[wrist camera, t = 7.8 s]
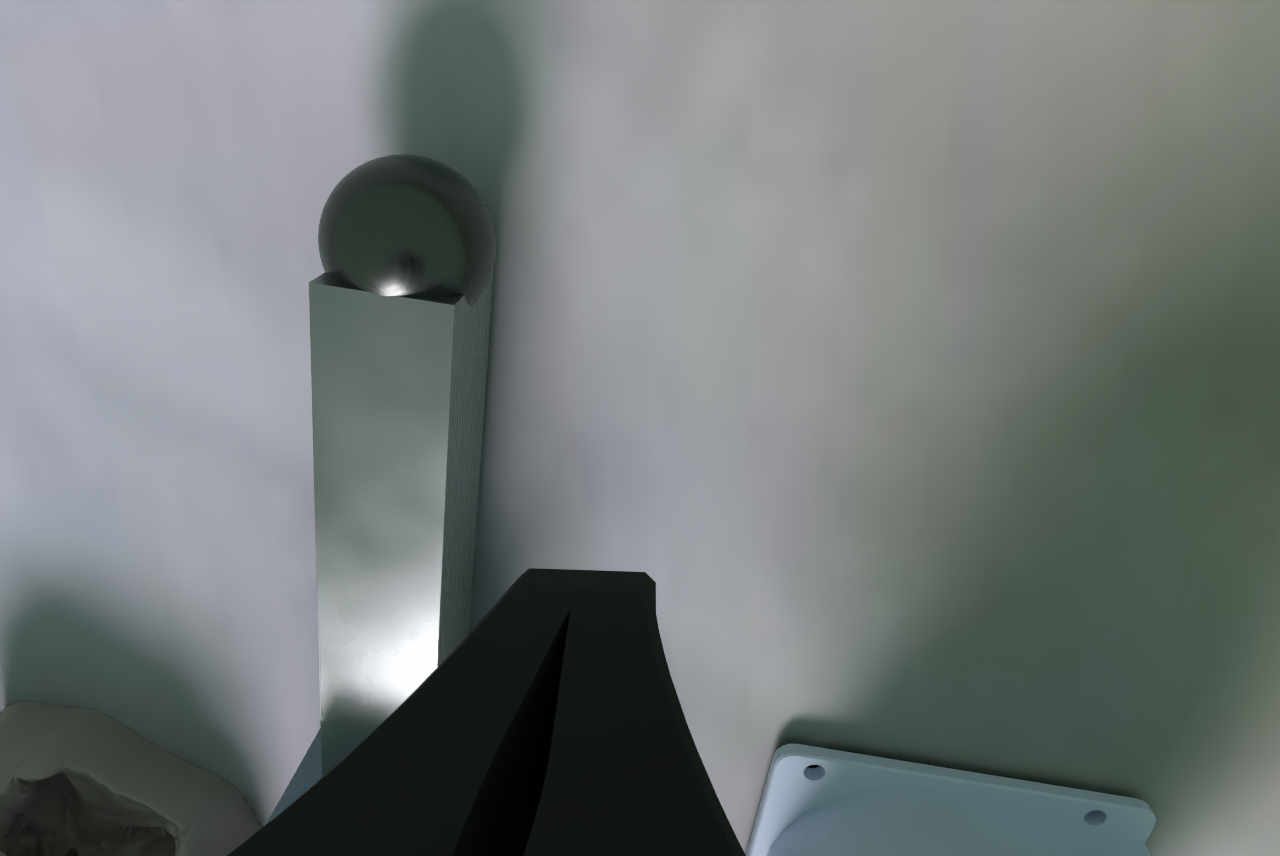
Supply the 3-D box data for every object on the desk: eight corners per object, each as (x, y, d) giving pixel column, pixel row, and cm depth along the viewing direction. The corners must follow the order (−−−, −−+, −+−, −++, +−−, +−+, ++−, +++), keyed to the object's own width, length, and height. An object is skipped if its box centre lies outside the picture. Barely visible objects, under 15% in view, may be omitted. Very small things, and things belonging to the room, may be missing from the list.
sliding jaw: (548, 160, 16) (464, 223, 11) (475, 979, 26) (413, 1226, 21) (331, 127, 16) (136, 173, 11) (343, 958, 26) (247, 1198, 21)
